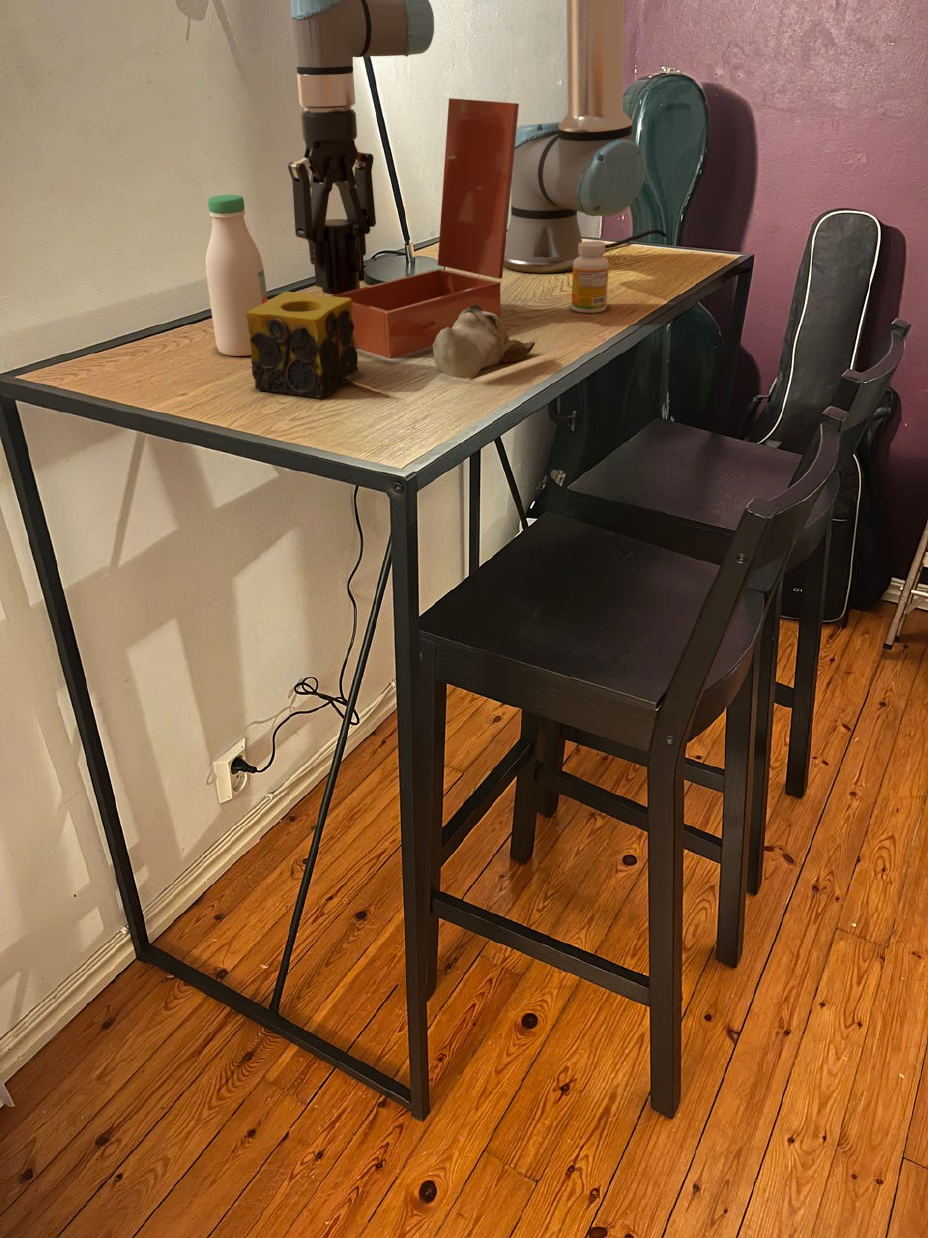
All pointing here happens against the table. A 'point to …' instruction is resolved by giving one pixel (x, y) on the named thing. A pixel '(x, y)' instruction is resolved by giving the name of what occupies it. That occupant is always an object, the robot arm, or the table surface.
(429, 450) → the table surface
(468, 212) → the lid
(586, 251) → the supplement bottle
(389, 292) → the reddish-brown box
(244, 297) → the milk bottle
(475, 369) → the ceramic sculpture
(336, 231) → the silver-capped dark cylinder
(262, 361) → the candle
